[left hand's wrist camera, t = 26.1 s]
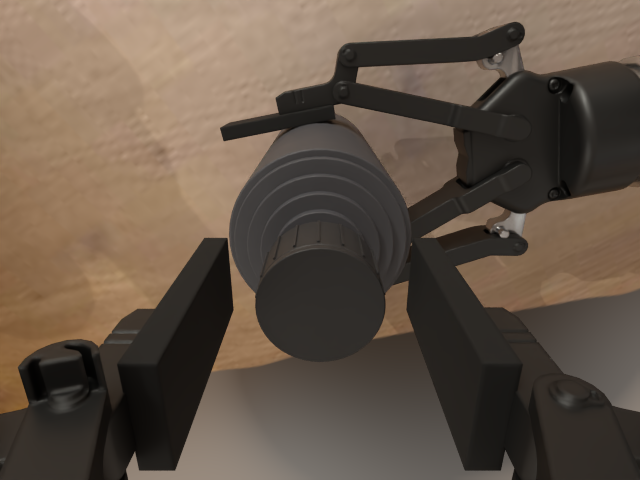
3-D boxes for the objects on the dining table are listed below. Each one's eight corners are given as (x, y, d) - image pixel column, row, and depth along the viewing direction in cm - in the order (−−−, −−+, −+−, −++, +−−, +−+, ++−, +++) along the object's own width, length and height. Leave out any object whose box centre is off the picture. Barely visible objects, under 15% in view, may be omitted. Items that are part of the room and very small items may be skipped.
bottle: (384, 183, 33) (475, 340, 14) (299, 223, 35) (272, 420, 15) (343, 93, 31) (383, 129, 11) (253, 139, 32) (150, 243, 13)
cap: (373, 212, 14) (382, 238, 12) (381, 316, 15) (391, 357, 13) (254, 226, 14) (242, 254, 12) (274, 327, 15) (266, 369, 13)
